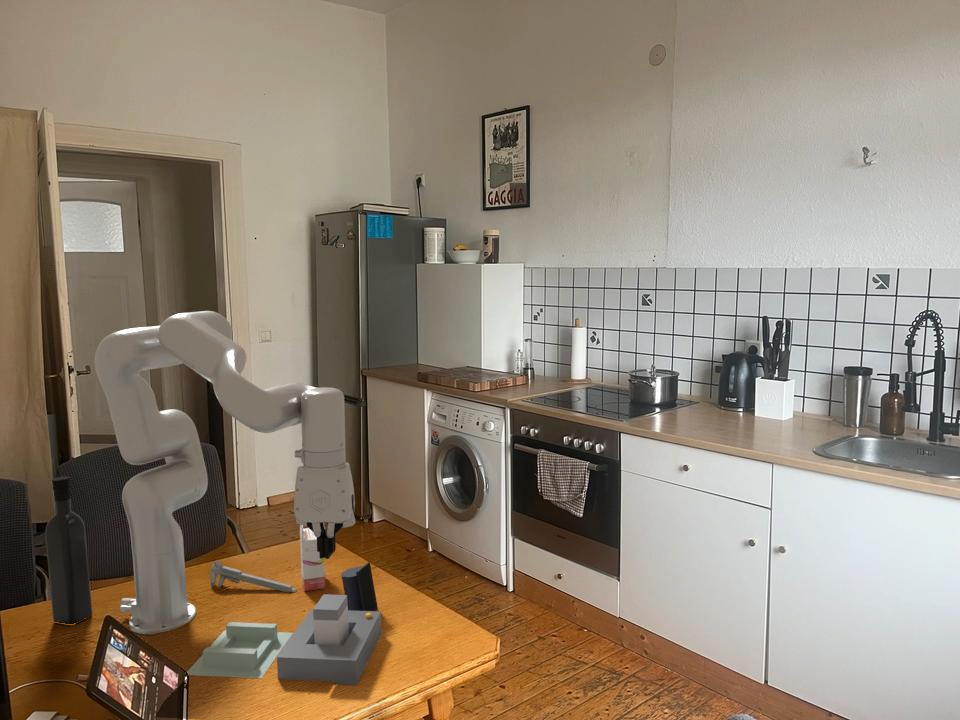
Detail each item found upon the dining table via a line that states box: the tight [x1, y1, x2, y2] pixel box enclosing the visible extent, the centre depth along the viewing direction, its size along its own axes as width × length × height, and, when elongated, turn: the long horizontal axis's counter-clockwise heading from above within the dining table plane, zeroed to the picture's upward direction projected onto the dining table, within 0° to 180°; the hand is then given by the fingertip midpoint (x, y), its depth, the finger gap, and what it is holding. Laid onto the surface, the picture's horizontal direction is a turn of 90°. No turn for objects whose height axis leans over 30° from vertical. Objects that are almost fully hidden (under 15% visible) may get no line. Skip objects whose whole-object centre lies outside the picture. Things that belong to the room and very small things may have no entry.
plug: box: [312, 593, 349, 646], centre depth 136 cm, size 4×6×10 cm
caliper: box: [209, 559, 298, 593], centre depth 166 cm, size 20×1×6 cm, turn 80°
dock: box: [276, 608, 382, 687], centre depth 136 cm, size 14×18×5 cm
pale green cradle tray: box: [187, 621, 294, 679], centre depth 137 cm, size 14×16×4 cm
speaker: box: [340, 561, 379, 611], centre depth 154 cm, size 8×6×10 cm
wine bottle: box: [44, 475, 93, 624], centre depth 150 cm, size 6×6×30 cm
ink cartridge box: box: [299, 524, 326, 592], centre depth 168 cm, size 9×5×15 cm, turn 17°
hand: (326, 555), depth 134 cm, fingers closed
